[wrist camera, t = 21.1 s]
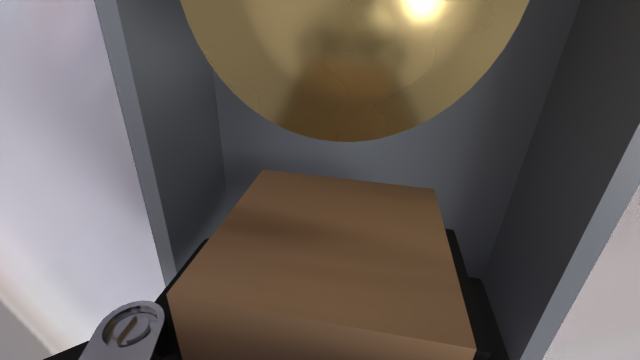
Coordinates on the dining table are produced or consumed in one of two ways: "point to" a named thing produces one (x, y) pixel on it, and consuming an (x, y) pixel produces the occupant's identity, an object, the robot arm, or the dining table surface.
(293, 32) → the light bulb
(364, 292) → the cube
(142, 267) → the dining table surface
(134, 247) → the dining table surface
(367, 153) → the box
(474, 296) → the robot arm
